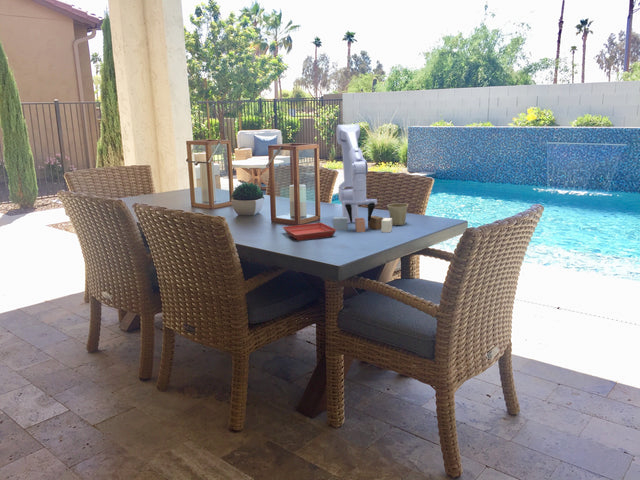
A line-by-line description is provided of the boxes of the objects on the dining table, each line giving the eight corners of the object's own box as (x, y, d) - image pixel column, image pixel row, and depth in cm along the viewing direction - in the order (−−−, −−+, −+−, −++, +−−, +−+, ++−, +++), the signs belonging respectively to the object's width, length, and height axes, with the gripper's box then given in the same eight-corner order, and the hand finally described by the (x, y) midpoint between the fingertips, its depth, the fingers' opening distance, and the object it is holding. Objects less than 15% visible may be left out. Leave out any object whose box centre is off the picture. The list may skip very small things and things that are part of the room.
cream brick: (384, 229, 226) (384, 217, 225) (392, 229, 225) (392, 218, 224) (381, 232, 221) (381, 220, 220) (389, 232, 220) (389, 220, 219)
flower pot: (384, 225, 233) (383, 206, 231) (391, 221, 241) (391, 202, 239) (404, 227, 229) (404, 207, 227) (411, 222, 237) (411, 203, 235)
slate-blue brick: (333, 229, 229) (333, 218, 228) (334, 228, 232) (333, 217, 231) (347, 229, 228) (346, 218, 227) (347, 228, 231) (347, 216, 230)
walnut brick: (367, 227, 230) (367, 216, 229) (374, 226, 232) (374, 215, 231) (376, 230, 225) (376, 218, 224) (382, 228, 227) (382, 217, 226)
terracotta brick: (355, 229, 228) (355, 218, 227) (363, 228, 229) (363, 217, 227) (357, 232, 223) (356, 220, 221) (365, 231, 223) (365, 220, 222)
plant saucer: (282, 233, 226) (282, 226, 225) (321, 229, 232) (321, 222, 231) (295, 243, 209) (295, 234, 209) (337, 237, 216) (337, 229, 215)
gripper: (343, 191, 217) (344, 224, 220) (378, 190, 218) (378, 222, 221) (341, 189, 224) (342, 220, 227) (375, 188, 225) (375, 219, 228)
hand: (360, 221), depth 224 cm, fingers open, 7 cm apart
